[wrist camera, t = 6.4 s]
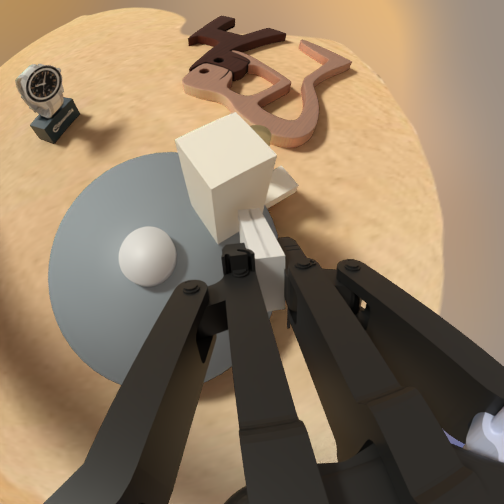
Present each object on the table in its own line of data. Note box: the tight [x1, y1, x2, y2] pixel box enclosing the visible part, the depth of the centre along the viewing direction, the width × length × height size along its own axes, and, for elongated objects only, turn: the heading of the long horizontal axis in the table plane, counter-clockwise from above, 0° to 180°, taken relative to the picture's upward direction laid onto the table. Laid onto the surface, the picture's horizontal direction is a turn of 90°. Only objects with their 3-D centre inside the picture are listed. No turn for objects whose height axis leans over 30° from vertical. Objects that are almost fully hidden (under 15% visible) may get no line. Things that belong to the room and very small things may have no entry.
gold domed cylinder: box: [250, 125, 271, 146], centre depth 22 cm, size 2×2×7 cm
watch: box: [15, 64, 80, 144], centre depth 22 cm, size 6×8×11 cm
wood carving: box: [182, 16, 352, 148], centre depth 31 cm, size 28×2×24 cm
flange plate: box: [48, 112, 298, 385], centre depth 17 cm, size 24×20×9 cm
